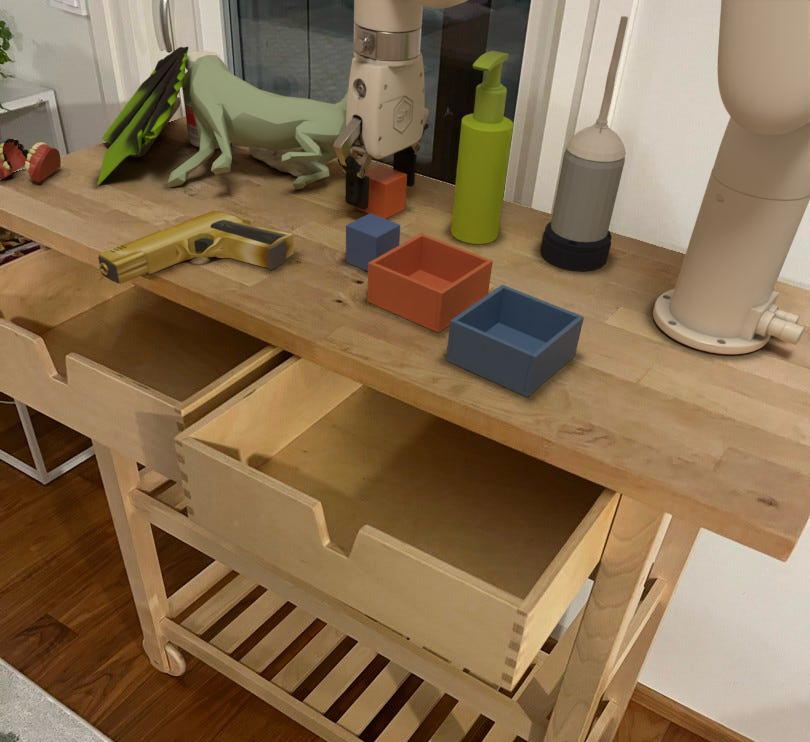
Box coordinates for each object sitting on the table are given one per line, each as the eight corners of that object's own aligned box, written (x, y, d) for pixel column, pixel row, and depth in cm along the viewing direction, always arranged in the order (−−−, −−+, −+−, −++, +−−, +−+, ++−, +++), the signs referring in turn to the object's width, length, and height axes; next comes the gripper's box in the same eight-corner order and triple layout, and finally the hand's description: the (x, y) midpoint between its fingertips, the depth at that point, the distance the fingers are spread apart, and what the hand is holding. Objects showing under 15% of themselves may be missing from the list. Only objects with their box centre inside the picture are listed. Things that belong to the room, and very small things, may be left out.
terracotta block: (405, 208, 107) (407, 174, 104) (384, 219, 104) (385, 184, 101) (378, 198, 108) (379, 164, 105) (357, 209, 106) (357, 174, 103)
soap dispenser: (439, 239, 101) (455, 56, 87) (462, 218, 105) (482, 41, 91) (482, 251, 99) (506, 67, 85) (505, 230, 104) (531, 52, 90)
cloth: (165, 45, 115) (179, 59, 117) (75, 175, 116) (90, 187, 118) (214, 41, 100) (229, 57, 101) (110, 190, 101) (127, 203, 102)
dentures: (36, 147, 102) (-21, 144, 103) (47, 183, 104) (-9, 179, 106) (60, 134, 106) (5, 132, 107) (70, 169, 109) (16, 166, 110)
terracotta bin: (487, 298, 91) (493, 260, 88) (438, 333, 86) (442, 293, 83) (418, 270, 95) (421, 232, 92) (367, 301, 90) (367, 262, 86)
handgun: (299, 236, 94) (228, 203, 99) (165, 294, 83) (92, 253, 88) (300, 257, 96) (230, 223, 101) (168, 316, 85) (97, 275, 90)
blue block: (398, 261, 96) (400, 224, 93) (375, 274, 94) (376, 237, 91) (369, 249, 98) (370, 212, 95) (345, 262, 96) (345, 225, 92)
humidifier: (607, 244, 103) (663, 12, 85) (606, 275, 97) (666, 33, 79) (542, 235, 103) (584, 3, 86) (537, 265, 98) (581, 23, 80)
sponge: (243, 151, 115) (254, 122, 114) (266, 163, 119) (277, 134, 118) (301, 183, 110) (313, 152, 109) (323, 194, 114) (335, 164, 113)
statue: (372, 204, 116) (348, 70, 117) (377, 150, 103) (350, 2, 105) (179, 227, 113) (158, 90, 115) (160, 176, 100) (136, 22, 102)
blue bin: (575, 356, 84) (584, 316, 81) (527, 397, 79) (535, 357, 75) (496, 323, 88) (502, 284, 85) (445, 360, 82) (450, 320, 79)
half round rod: (156, 106, 126) (163, 117, 128) (121, 150, 112) (130, 162, 113) (179, 93, 125) (186, 105, 126) (147, 136, 111) (155, 148, 112)
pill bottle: (238, 137, 120) (231, 51, 112) (225, 152, 116) (217, 65, 108) (196, 132, 121) (187, 47, 113) (182, 147, 116) (171, 59, 108)
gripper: (364, 66, 86) (360, 225, 98) (457, 35, 96) (443, 183, 109) (310, 49, 89) (313, 206, 101) (406, 21, 99) (398, 167, 112)
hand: (380, 194), depth 105 cm, fingers open, 9 cm apart
